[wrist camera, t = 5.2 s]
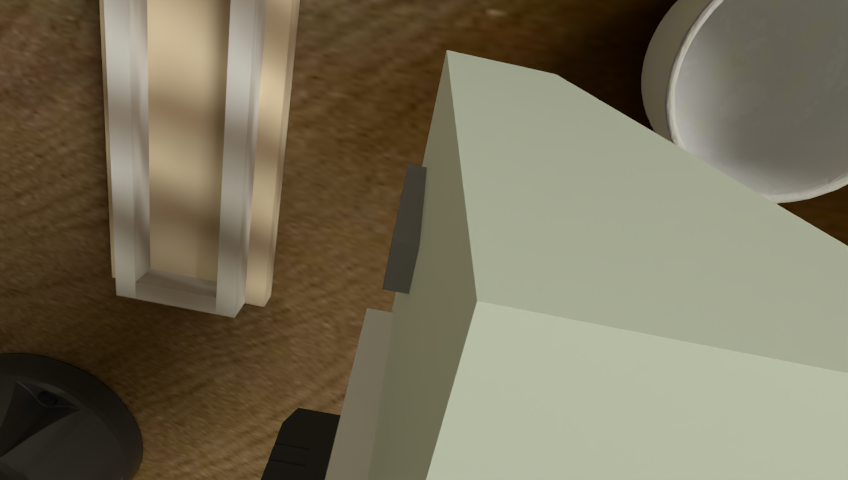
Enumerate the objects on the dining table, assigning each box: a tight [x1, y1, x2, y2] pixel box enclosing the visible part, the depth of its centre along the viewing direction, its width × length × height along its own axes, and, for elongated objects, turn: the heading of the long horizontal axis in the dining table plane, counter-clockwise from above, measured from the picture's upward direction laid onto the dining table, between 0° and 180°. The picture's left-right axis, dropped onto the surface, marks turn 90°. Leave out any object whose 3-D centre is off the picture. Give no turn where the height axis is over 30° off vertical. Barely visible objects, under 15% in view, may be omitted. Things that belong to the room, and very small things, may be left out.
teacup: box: [641, 0, 848, 204], centre depth 25 cm, size 14×11×8 cm
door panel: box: [368, 50, 848, 480], centre depth 11 cm, size 16×3×13 cm, turn 168°
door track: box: [99, 0, 300, 318], centre depth 30 cm, size 22×10×3 cm, turn 168°
